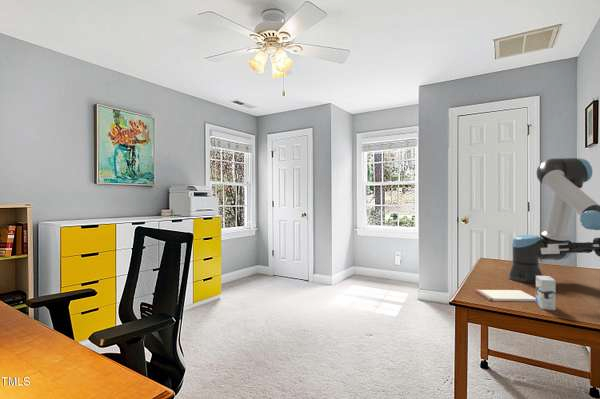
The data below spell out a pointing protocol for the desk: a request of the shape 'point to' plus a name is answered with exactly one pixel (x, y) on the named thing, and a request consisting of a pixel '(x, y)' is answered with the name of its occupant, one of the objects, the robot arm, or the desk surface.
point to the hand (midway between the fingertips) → (544, 249)
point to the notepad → (505, 295)
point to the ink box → (546, 292)
